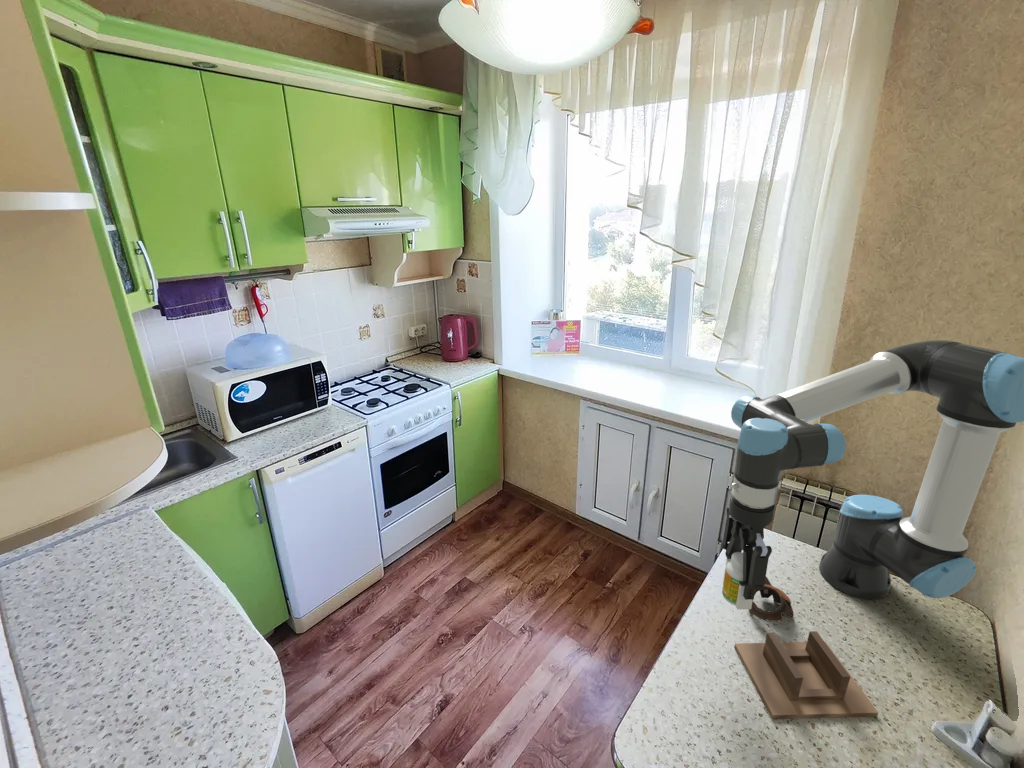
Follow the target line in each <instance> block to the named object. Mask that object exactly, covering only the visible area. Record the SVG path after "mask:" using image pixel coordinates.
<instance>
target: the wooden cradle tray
mask: <svg viewBox="0 0 1024 768" xmlns="http://www.w3.org/2000/svg"><path fill="white" fill-rule="evenodd" d="M733 648H734V649H735V651H736V654H737V655H738V657H739V659H740V660H741V664H742V665H743V666H744V669H745V670H746V672H747V674H748V676H749V678H750V679H751V681H752V684H753V685H754V687H755V690H756V691H757V693H758V695H759V696H760V698H761V699H760V700H761V701H762V702H763V704H764V706H765V709H766V710H767V713H768V714H769V716H770V718H771V719H772V720H789V719H792V720H793V719H822V718H823V719H826V718H828V719H829V718H830V719H831V718H834V719H835V718H866V717H869V718H870V717H878V716H879V711H878V710H877V708H876V707H875V706H874V704H872V702H871V700H870V699H869V698H868V697H867V695H866V694H865V693H864V691H863V690H862V688H861V687H860V686H859V685H858V683H857V682H856V681H855V679H854V678H853V676H852V675H851V674H850V673H849V671H848V670H847V669H846V667H845V666H844V664H843V663H842V662H841V660H840V659H839V657H837V655H836V654H835V652H834V651H833V650H832V648H831V647H830V646H829V644H828V643H827V641H825V640H824V639H823V638H822V636H821V635H820V634H819V632H818V631H815V630H814V631H809V633H808V638H807V641H789V642H787V641H786V642H785V641H784V642H782V641H780V639H779V638H778V635H776V632H773V631H772V632H766V636H765V640H764V642H749V643H745V642H744V643H734V647H733Z"/></svg>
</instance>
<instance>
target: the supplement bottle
mask: <svg viewBox="0 0 1024 768" xmlns="http://www.w3.org/2000/svg"><path fill="white" fill-rule="evenodd" d="M725 567H726V570H725V569H724V574H725V577H724V576H723V580H724V583H723V582H722V589H721V590H722V592H721V594H722V597H723V599H724V600H725V601H726V602H727V603H729V604H730V605H732V606H735V607H736V602H737V596H738V590H739V581H740V580H743V551H742V552H735V553H733V554H732V557H731V561H730V562H728V563H727V565H726V564H725Z"/></svg>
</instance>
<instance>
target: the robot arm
mask: <svg viewBox="0 0 1024 768" xmlns="http://www.w3.org/2000/svg"><path fill="white" fill-rule="evenodd" d="M913 391H914V392H921V393H924V394H928V395H931V396H933V397H936V398H938V402H937V407H936V413H937V414H938V415H939V416H940V417H941V419H942V422H941V425H940V428H939V431H938V433H937V437H936V439H935V443H934V446H933V448H932V451H931V455H930V458H929V461H928V464H927V466H926V470H925V473H924V476H923V479H922V482H921V485H920V487H919V491H918V494H917V498H916V500H915V503H914V506H913V509H912V511H911V515H910V516H907V517H903V516H904V510H903V507H901V505H900V504H898V503H897V502H895V501H892V500H891V499H888V498H885V497H881V496H877V495H871V494H854V495H849V496H848V497H846V498H845V499H844V501H843V504H842V507H841V508H840V510H839V516H838V520H837V525H836V528H835V533H834V538H833V542H832V544H831V545H830V546H829V548H828V549H827V551H826V552H825V553H824V554H823V555H822V556H821V558H820V561H819V566H818V568H819V569H818V570H819V572H820V575H821V576H822V578H823V579H824V580H825V581H826V582H827V583H829V584H830V585H831V586H832V587H834V588H836V589H837V590H839V591H841V592H842V593H845V594H847V595H850V596H853V597H856V598H860V599H864V600H880V599H883V598H885V597H887V596H888V595H889V594H890V593H889V592H890V589H891V586H892V581H891V575H890V573H891V572H892V573H893V574H895V575H896V576H897V577H898V578H900V579H901V580H903V581H904V582H905V583H906V584H908V585H909V587H911V588H912V589H915V590H916V591H918V592H919V593H921V594H922V595H924V596H926V598H927V597H928V598H931V599H942V598H947V597H949V596H951V595H954V594H956V593H957V592H959V591H961V589H963V588H964V587H965V586H967V585H968V583H970V581H972V579H973V578H974V576H975V574H976V571H977V566H976V563H975V562H974V561H973V560H972V559H971V558H970V557H967V556H966V553H967V550H968V548H969V541H968V539H967V538H966V537H965V536H964V534H963V533H964V530H965V527H966V525H967V522H968V520H969V517H970V514H971V512H972V509H973V506H974V505H975V501H976V498H977V496H978V494H979V490H980V488H981V486H982V484H983V483H982V482H983V481H984V478H985V475H986V472H987V469H988V467H989V464H990V462H991V459H992V457H993V454H994V451H995V448H996V446H997V443H998V441H999V438H1000V435H1001V434H1002V433H1004V432H1006V431H1010V430H1012V429H1014V428H1015V427H1016V425H1017V424H1018V423H1023V422H1024V357H1020V356H1017V355H1014V354H1013V353H1012V352H1011V353H1010V352H1009V353H1008V352H1004V351H1000V350H995V349H989V348H984V347H980V346H975V345H970V344H965V343H961V342H957V341H952V340H944V339H936V340H925V341H917V342H913V343H908V344H903V345H899V346H895V347H892V348H889V349H885V350H883V351H881V352H877V353H875V354H874V355H873V356H871V357H870V359H869V361H866V362H863V363H861V364H857V365H854V366H852V367H850V368H849V367H848V368H846V369H844V370H841V371H838V372H836V373H833V374H829V375H828V376H824V377H822V378H821V377H820V378H818V379H816V380H813V381H810V382H807V383H804V384H802V385H800V386H797V387H794V388H791V389H788V390H786V391H783V392H780V393H777V394H775V395H772V396H769V397H766V398H760V396H754V395H749V394H748V395H747V394H746V395H744V396H741V397H740V398H738V399H737V400H736V401H735V403H734V404H733V405H732V408H731V410H730V411H731V412H730V417H731V420H732V422H733V423H734V425H735V426H737V427H738V428H740V433H739V437H738V439H737V448H736V449H737V450H736V456H735V467H734V474H733V480H732V483H731V485H730V486H731V495H730V500H729V506H727V507H726V519H725V526H724V532H723V538H722V543H721V548H722V549H723V550H725V552H724V553H725V557H726V562H725V566H724V567H725V569H724V571H725V570H726V565H727V563H728V562H730V561H731V557H732V554H733V553H735V552H742V553H743V580H740V581H739V590H738V596H737V602H736V606H735V608H736V610H749V609H751V607H752V601H753V602H754V599H755V596H754V593H755V590H763V589H764V584H765V578H766V577H767V571H768V564H769V559H770V556H771V554H772V552H773V549H772V547H771V545H766V543H765V542H764V540H765V539H764V538H765V531H764V529H765V528H766V527H767V526H769V525H770V524H771V523H772V521H773V518H774V512H775V507H776V506H775V503H777V499H778V498H777V496H778V493H779V492H778V491H779V486H780V485H779V484H780V480H781V476H782V472H783V471H784V472H785V471H790V470H795V469H803V468H805V469H806V468H811V467H812V468H813V467H822V466H824V465H828V464H834V463H836V462H839V461H840V460H841V459H842V458H843V457H844V455H845V452H846V448H847V443H846V438H845V437H844V434H843V432H842V431H841V430H840V429H839V428H838V427H837V426H835V425H833V424H832V423H831V424H830V423H820V422H819V423H814V424H811V423H808V422H811V421H813V420H817V419H819V418H822V417H826V416H827V415H830V414H833V413H835V412H838V411H841V410H844V409H847V408H849V407H850V408H851V406H854V405H858V404H862V403H863V402H866V401H868V400H871V399H874V398H877V397H879V396H882V395H885V394H891V395H899V394H902V393H905V392H913ZM724 577H725V573H724V574H723V578H724ZM723 583H724V579H723V581H722V584H723ZM753 598H754V599H753Z"/></svg>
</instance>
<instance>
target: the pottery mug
mask: <svg viewBox="0 0 1024 768" xmlns="http://www.w3.org/2000/svg"><path fill="white" fill-rule="evenodd" d="M758 592H760V593H759V595H760V597H761V598H762V599H769V598H770V597H771V596H772V598H773V603H774V604H778V607H776V608H775V609H773V610H766V609H762V608H760V607H758V605H757V604H756V603H755V601H754V600H755V596H756V594H757V593H758ZM748 610H749V613H751V614H752V615H753V616H755V617H756V618H758V619H760V620H763V621H768V622H773V621H779V622H783V615H782V614H790V619H794V609H793V606H792V601H791V599H790V598H789V596H788V595H787V594H786V593H785V592H784V591H783V590H781V589H780V588H777V587H775V586H773V585H772V584H771V582H770V580H769V578H768V576H766V578H765V584H764V589H763V590H755V593H754V598H753V601H752V607H751V609H748Z"/></svg>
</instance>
